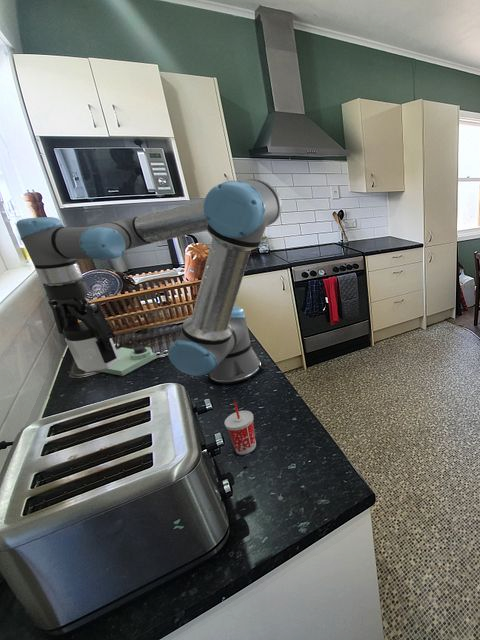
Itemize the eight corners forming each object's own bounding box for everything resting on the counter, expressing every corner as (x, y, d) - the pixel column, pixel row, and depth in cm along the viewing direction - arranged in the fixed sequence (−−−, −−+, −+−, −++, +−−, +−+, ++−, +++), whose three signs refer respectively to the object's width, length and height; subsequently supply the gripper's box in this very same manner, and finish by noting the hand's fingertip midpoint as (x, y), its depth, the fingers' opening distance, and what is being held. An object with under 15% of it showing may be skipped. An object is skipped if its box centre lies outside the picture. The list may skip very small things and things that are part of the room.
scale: (158, 357, 122) (155, 348, 121) (122, 376, 111) (119, 366, 110) (124, 351, 125) (121, 342, 124) (86, 369, 114) (82, 360, 113)
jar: (75, 375, 92) (56, 335, 87) (81, 362, 98) (64, 323, 93) (118, 366, 97) (102, 327, 92) (121, 353, 103) (107, 317, 98)
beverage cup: (250, 435, 90) (240, 390, 84) (264, 445, 87) (254, 399, 81) (227, 449, 85) (214, 403, 79) (241, 460, 82) (229, 414, 76)
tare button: (148, 350, 120) (146, 346, 119) (140, 355, 118) (138, 350, 117) (141, 349, 121) (139, 345, 120) (133, 353, 118) (131, 349, 117)
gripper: (112, 280, 88) (141, 356, 98) (49, 273, 93) (82, 347, 102) (80, 290, 82) (114, 370, 91) (13, 281, 86) (52, 359, 95)
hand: (97, 358), depth 97 cm, fingers closed on jar, 9 cm apart
